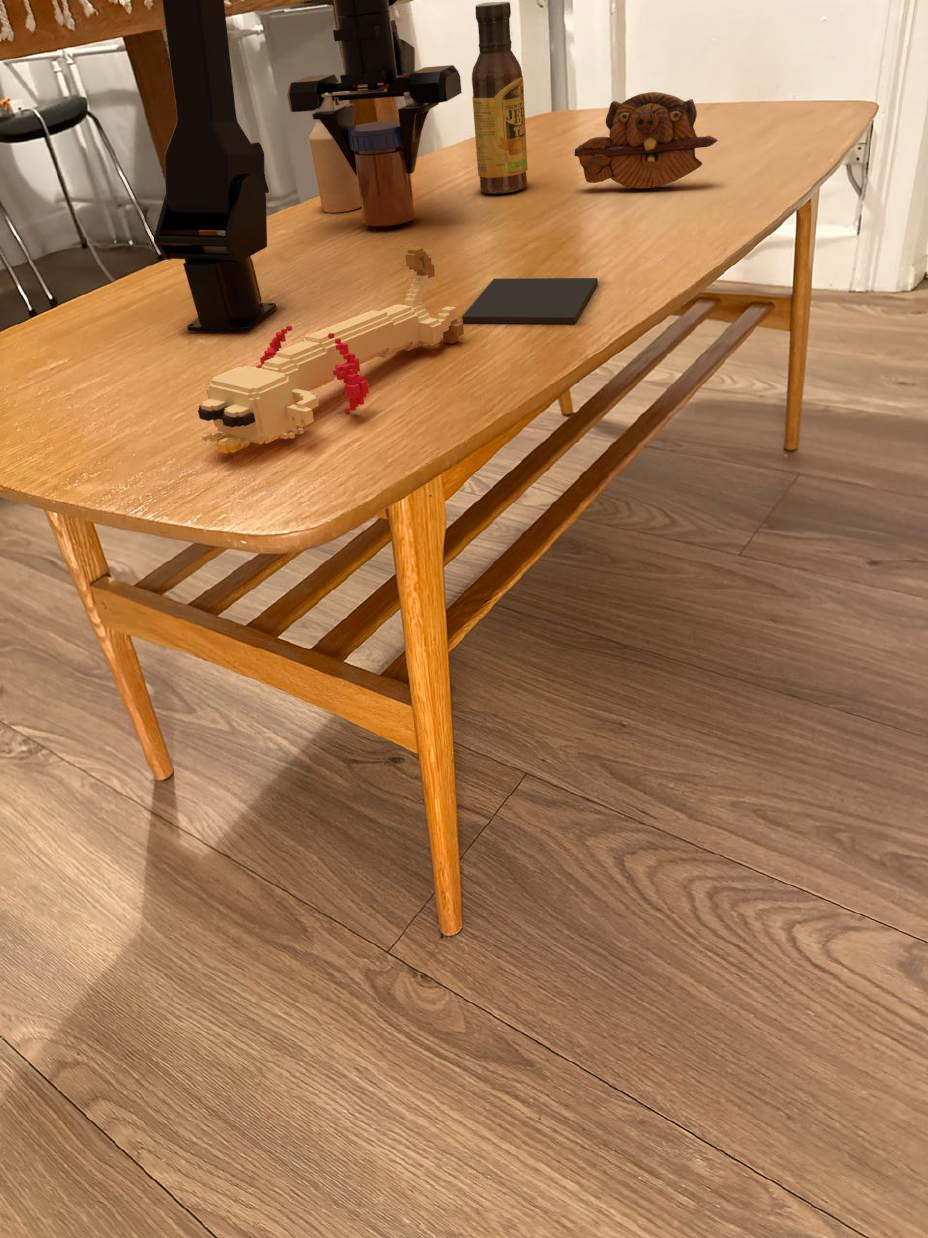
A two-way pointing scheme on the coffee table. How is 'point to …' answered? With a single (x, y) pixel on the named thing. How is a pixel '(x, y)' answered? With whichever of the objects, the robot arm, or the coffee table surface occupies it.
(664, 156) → the wooden carving
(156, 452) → the coffee table surface
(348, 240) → the coffee table surface
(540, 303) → the mat
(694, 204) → the coffee table surface
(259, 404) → the voxel animal figurine
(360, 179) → the jar
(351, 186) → the candle
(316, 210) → the coffee table surface
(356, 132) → the lid
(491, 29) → the sauce bottle
